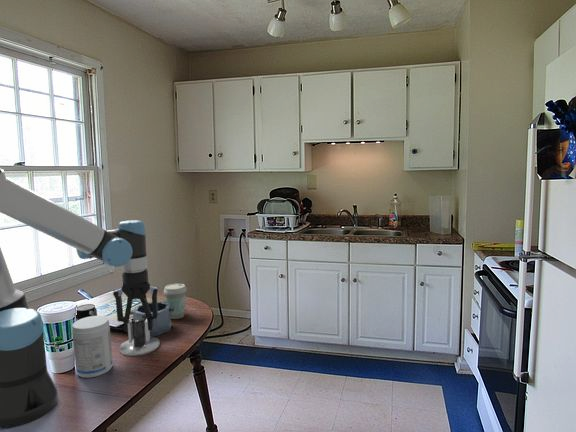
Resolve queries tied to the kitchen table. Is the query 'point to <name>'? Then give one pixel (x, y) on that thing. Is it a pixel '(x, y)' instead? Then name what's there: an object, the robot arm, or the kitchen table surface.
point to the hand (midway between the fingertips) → (139, 340)
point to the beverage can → (86, 311)
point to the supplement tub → (92, 346)
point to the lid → (139, 341)
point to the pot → (162, 320)
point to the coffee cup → (176, 299)
